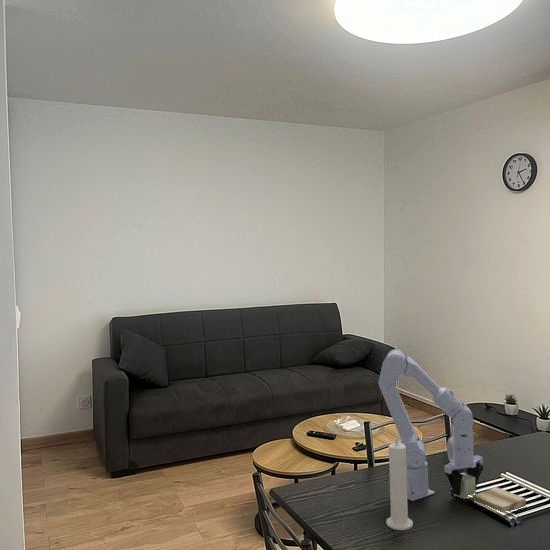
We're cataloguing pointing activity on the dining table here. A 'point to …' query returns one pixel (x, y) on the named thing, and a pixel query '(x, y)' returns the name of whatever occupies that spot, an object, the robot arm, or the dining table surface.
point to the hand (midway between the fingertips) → (464, 491)
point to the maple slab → (500, 499)
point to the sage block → (467, 486)
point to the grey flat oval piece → (450, 449)
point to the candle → (398, 487)
